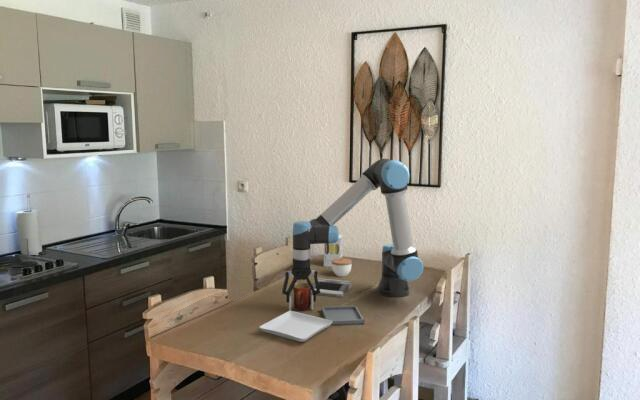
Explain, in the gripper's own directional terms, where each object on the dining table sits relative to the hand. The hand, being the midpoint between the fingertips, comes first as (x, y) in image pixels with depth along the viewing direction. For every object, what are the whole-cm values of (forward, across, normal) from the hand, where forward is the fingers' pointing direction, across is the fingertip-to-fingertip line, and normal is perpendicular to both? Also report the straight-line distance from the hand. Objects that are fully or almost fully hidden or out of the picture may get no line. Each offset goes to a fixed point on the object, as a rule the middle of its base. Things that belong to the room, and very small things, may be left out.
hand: (301, 309), depth 235 cm
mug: (0, 0, 0) cm, 0 cm away
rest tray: (0, -16, +11) cm, 19 cm away
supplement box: (0, -25, -70) cm, 74 cm away
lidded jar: (0, -26, -50) cm, 57 cm away
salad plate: (+1, +4, +23) cm, 24 cm away
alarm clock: (+1, -16, -25) cm, 30 cm away
